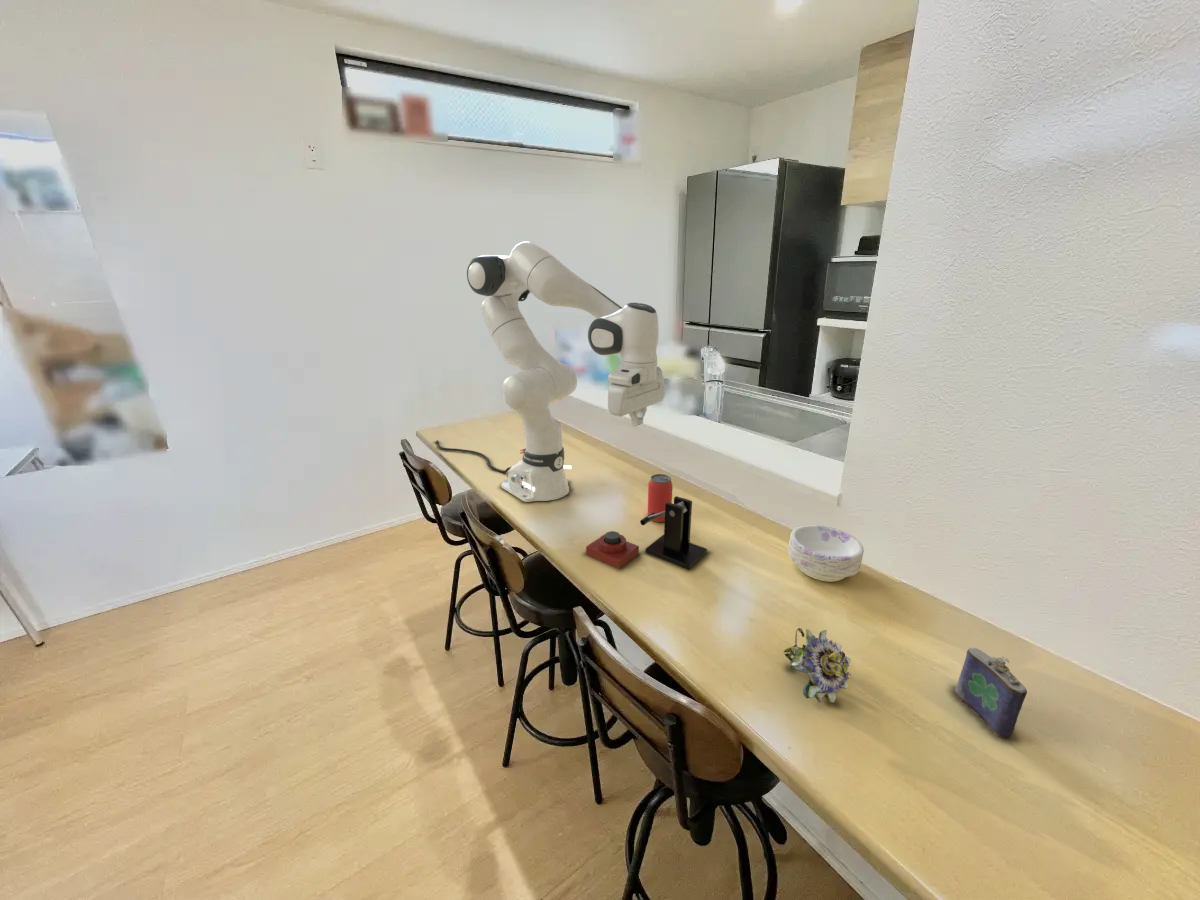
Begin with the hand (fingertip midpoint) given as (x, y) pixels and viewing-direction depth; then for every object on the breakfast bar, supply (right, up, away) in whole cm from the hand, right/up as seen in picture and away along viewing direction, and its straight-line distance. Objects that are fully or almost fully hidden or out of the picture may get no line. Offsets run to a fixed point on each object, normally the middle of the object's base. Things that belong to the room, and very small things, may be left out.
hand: (637, 424), depth 127 cm
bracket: (+9, -32, -6) cm, 34 cm away
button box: (-6, -32, -7) cm, 33 cm away
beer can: (+7, -25, +11) cm, 29 cm away
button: (-7, -29, -8) cm, 30 cm away
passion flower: (+26, -46, -44) cm, 68 cm away
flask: (+50, -48, -50) cm, 85 cm away
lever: (+6, -23, -7) cm, 25 cm away
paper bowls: (+41, -34, -14) cm, 55 cm away
